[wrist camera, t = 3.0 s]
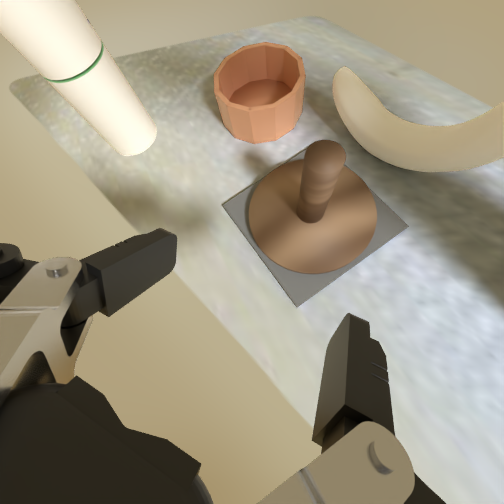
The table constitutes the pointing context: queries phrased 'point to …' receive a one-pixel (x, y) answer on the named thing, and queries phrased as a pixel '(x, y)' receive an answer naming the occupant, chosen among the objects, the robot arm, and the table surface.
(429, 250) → the table surface
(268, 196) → the walnut lid
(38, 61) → the cylindrical container
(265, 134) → the terracotta bowl
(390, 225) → the rubber mat
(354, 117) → the banana
